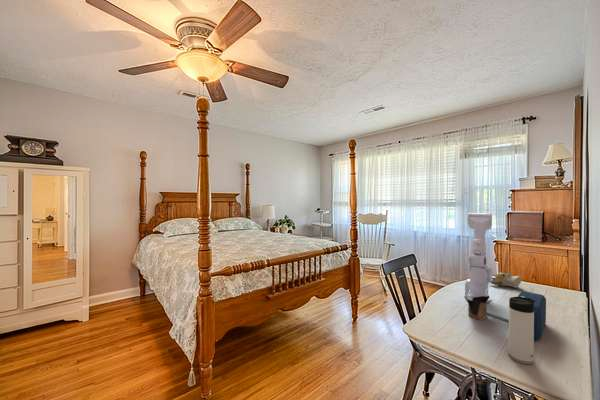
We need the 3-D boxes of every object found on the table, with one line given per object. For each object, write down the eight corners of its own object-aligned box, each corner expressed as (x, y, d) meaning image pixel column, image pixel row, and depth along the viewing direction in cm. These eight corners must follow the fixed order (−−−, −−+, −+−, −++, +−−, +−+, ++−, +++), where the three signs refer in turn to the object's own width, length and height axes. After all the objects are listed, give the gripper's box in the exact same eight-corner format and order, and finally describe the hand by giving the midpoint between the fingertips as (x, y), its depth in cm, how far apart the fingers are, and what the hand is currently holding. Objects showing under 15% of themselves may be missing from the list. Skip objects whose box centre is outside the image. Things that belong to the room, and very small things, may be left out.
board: (478, 311, 120) (478, 309, 120) (492, 304, 127) (492, 301, 127) (509, 322, 109) (509, 320, 109) (523, 313, 117) (523, 311, 117)
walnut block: (468, 315, 116) (468, 302, 116) (474, 312, 119) (474, 299, 118) (481, 320, 112) (481, 306, 112) (486, 316, 114) (486, 303, 114)
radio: (518, 316, 115) (519, 270, 114) (546, 323, 108) (547, 275, 108) (509, 334, 101) (509, 282, 100) (540, 343, 94) (540, 288, 93)
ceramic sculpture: (520, 275, 141) (486, 271, 152) (521, 291, 141) (487, 286, 151) (521, 270, 149) (489, 267, 159) (522, 286, 149) (490, 281, 159)
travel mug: (539, 366, 82) (540, 303, 82) (515, 363, 84) (516, 301, 83) (526, 354, 88) (527, 295, 88) (504, 352, 90) (504, 294, 89)
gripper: (479, 288, 107) (479, 320, 108) (495, 281, 115) (495, 311, 116) (461, 283, 113) (461, 314, 114) (478, 276, 121) (477, 305, 122)
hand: (477, 312), depth 115 cm, fingers closed on walnut block, 5 cm apart
